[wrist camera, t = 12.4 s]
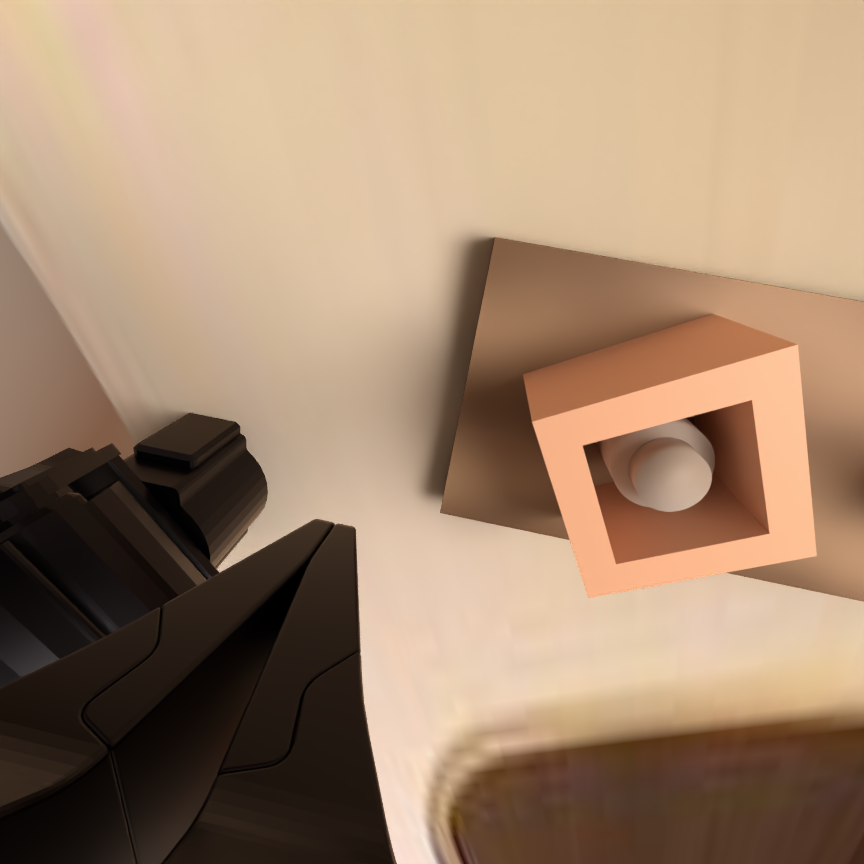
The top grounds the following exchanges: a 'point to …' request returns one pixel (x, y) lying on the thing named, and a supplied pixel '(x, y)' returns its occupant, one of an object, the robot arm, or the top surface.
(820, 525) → the collar board
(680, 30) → the top surface
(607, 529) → the collar
